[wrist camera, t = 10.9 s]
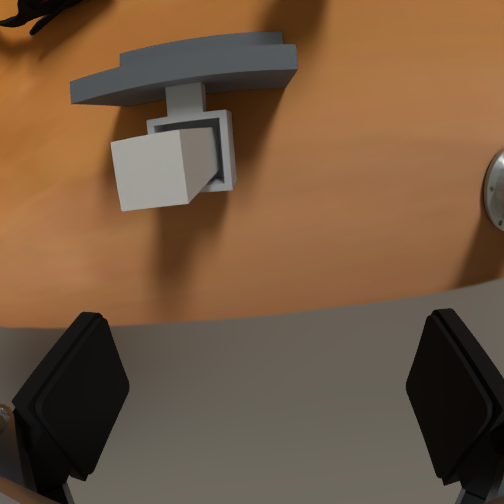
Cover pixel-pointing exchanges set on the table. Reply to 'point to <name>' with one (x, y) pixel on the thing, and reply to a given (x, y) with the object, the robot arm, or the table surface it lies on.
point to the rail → (164, 167)
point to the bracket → (194, 84)
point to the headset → (37, 12)
